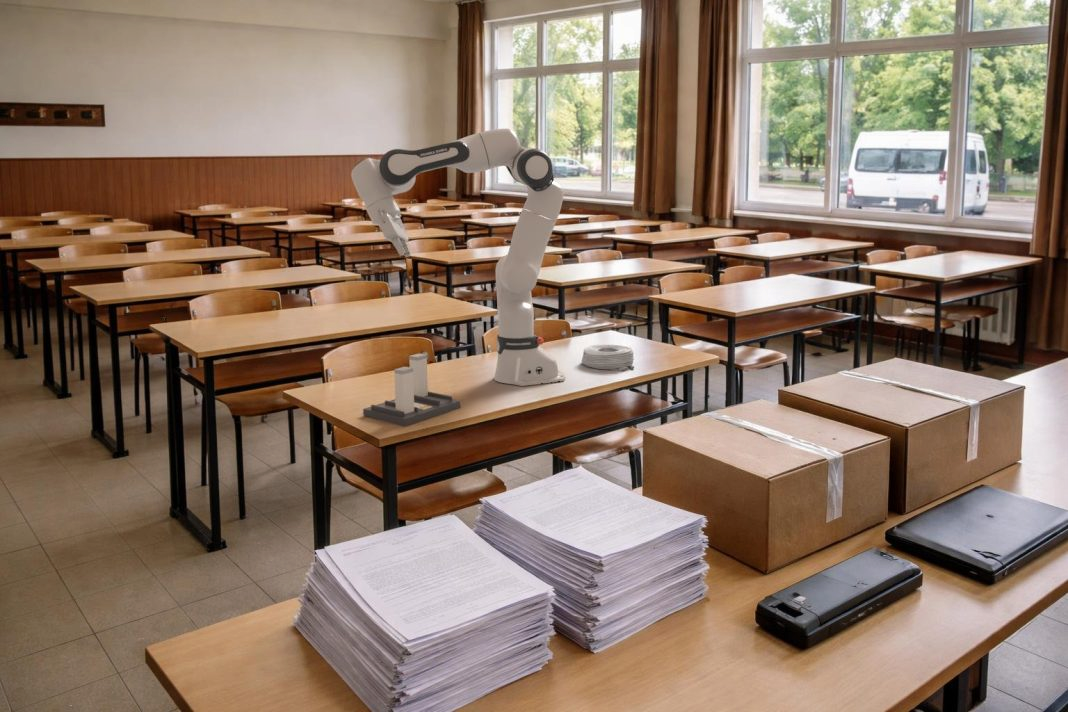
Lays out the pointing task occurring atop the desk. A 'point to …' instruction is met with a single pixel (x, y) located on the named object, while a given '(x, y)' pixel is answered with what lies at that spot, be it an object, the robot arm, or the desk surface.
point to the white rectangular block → (404, 389)
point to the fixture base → (422, 409)
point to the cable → (608, 357)
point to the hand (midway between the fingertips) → (405, 254)
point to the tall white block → (419, 374)
